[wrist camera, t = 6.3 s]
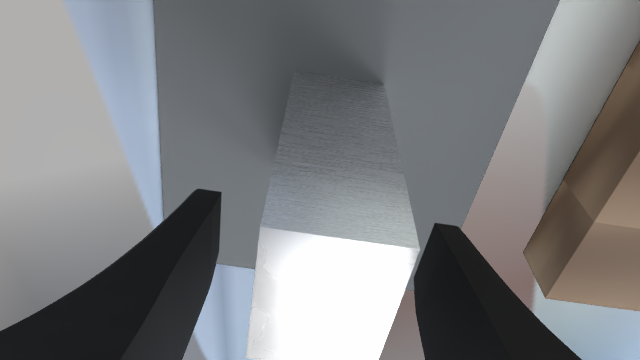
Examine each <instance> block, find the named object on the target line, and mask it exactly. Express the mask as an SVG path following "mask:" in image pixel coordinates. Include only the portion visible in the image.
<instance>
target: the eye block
mask: <svg viewBox="0 0 640 360" xmlns="http://www.w3.org/2000/svg"><path fill="white" fill-rule="evenodd" d="M523 253H524V255H525V258H526V260H527V262H528V264H529V266H530V268H531V270H532V272H533V274H534V276H535V278H536V280H537V282H538V284H539V286H540V289H541V291H542V293H543V295H544V297H545V298H546V299H554V300H561V301H568V302H575V303H583V304H590V305H597V306H605V307H612V308H619V309H627V310H634V311H640V42H639V43H638V45H637V47H636V49H635V51H634V52H633V54H632V56H631V58H630V60H629V62H628V63H627V65H626V67H625V69H624V71H623V72H622V74H621V76H620V78H619V80H618V81H617V83H616V85H615V87H614V89H613V90H612V92H611V94H610V96H609V98H608V100H607V101H606V103H605V105H604V107H603V109H602V110H601V112H600V114H599V116H598V118H597V119H596V121H595V123H594V125H593V127H592V128H591V130H590V132H589V134H588V136H587V137H586V139H585V141H584V143H583V145H582V147H581V148H580V150H579V152H578V154H577V156H576V157H575V159H574V161H573V163H572V165H571V166H570V168H569V170H568V172H567V174H566V175H565V177H564V179H563V181H562V183H561V185H560V186H559V188H558V190H557V192H556V194H555V195H554V197H553V199H552V201H551V203H550V204H549V206H548V208H547V210H546V212H545V213H544V215H543V217H542V219H541V221H540V222H539V224H538V226H537V228H536V230H535V232H534V233H533V235H532V237H531V239H530V241H529V242H528V244H527V246H526V248H525V250H524V251H523Z"/></svg>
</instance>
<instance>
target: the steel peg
mask: <svg viewBox="0 0 640 360" xmlns="http://www.w3.org/2000/svg"><path fill="white" fill-rule="evenodd" d="M419 252H420V246H419V242H418V237H417V232H416V228H415V223H414V218H413V214H412V209H411V205H410V200H409V195H408V191H407V186H406V181H405V177H404V172H403V168H402V163H401V158H400V154H399V149H398V145H397V140H396V135H395V131H394V126H393V121H392V117H391V112H390V108H389V103H388V98H387V94H386V89H385V84H380V83H374V82H368V81H362V80H356V79H350V78H344V77H338V76H331V75H325V74H319V73H313V72H307V71H301V70H295V71H294V76H293V80H292V85H291V89H290V94H289V98H288V103H287V107H286V112H285V116H284V121H283V125H282V130H281V135H280V139H279V144H278V148H277V153H276V157H275V162H274V166H273V171H272V175H271V180H270V184H269V189H268V193H267V198H266V203H265V207H264V212H263V216H262V221H261V225H260V233H259V242H258V251H257V260H256V269H255V278H254V288H253V297H252V306H251V315H250V324H249V333H248V342H247V352H246V358H251V359H259V360H378V359H379V356H380V354H381V351H382V349H383V346H384V343H385V341H386V338H387V335H388V333H389V330H390V328H391V325H392V322H393V320H394V317H395V315H396V312H397V309H398V306H399V304H400V301H401V299H402V296H403V293H404V291H405V288H406V286H407V283H408V280H409V278H410V275H411V273H412V270H413V267H414V265H415V262H416V259H417V257H418V254H419Z"/></svg>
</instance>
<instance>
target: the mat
mask: <svg viewBox="0 0 640 360" xmlns="http://www.w3.org/2000/svg"><path fill="white" fill-rule="evenodd" d="M558 3H559V0H153V4H154V24H155V45H156V66H157V87H158V108H159V129H160V149H161V170H162V191H163V212H164V220H165V219H166V218H167V217H168V216H169V215H170V214H171V213H172V212H173V211H174V210H175V209H177V208H178V207H179V206H180V205H181V204H182V203H183V201H184V200H185V199H186V198H187V197H188V196H189V195H190V194H191V193H192V192H193V191H195V190H196V189H205V190H212V191H219V192H222V197H221V221H220V244H219V254H218V258H217V262H216V264H222V265H229V266H237V267H244V268H251V269H256V260H257V251H258V242H259V233H260V225H261V221H262V216H263V212H264V207H265V203H266V198H267V193H268V189H269V184H270V180H271V175H272V171H273V166H274V162H275V157H276V153H277V148H278V144H279V139H280V135H281V130H282V125H283V121H284V116H285V112H286V107H287V103H288V98H289V94H290V89H291V85H292V80H293V76H294V71H295V70H301V71H307V72H313V73H319V74H325V75H331V76H338V77H344V78H350V79H356V80H362V81H368V82H374V83H380V84H385V89H386V94H387V98H388V103H389V108H390V112H391V117H392V121H393V126H394V131H395V135H396V140H397V145H398V149H399V154H400V158H401V163H402V168H403V172H404V177H405V181H406V186H407V191H408V195H409V200H410V205H411V209H412V214H413V218H414V223H415V228H416V232H417V237H418V242H419V246H420V252H419V254H418V257H417V259H416V262H415V265H414V267H413V270H412V273H411V275H410V278H409V280H408V283H407V286H406V288H405V289H407V290H414V275H415V273H416V270H417V268H418V265H419V262H420V260H421V257H422V255H423V252H424V249H425V247H426V244H427V242H428V239H429V236H430V234H431V231H432V229H433V226H434V223H440V224H447V225H454V226H458V227H459V228H460V229H461V228H462V225H463V223H464V220H465V218H466V216H467V214H468V211H469V209H470V207H471V204H472V202H473V199H474V197H475V195H476V193H477V190H478V188H479V186H480V183H481V181H482V179H483V177H484V174H485V172H486V170H487V167H488V165H489V163H490V160H491V158H492V156H493V153H494V151H495V149H496V146H497V144H498V142H499V139H500V137H501V135H502V132H503V130H504V128H505V126H506V123H507V121H508V118H509V116H510V114H511V112H512V109H513V107H514V104H515V102H516V100H517V98H518V95H519V93H520V91H521V88H522V86H523V84H524V82H525V79H526V77H527V75H528V72H529V70H530V68H531V65H532V63H533V61H534V58H535V56H536V54H537V51H538V49H539V47H540V44H541V42H542V40H543V37H544V35H545V33H546V31H547V28H548V26H549V24H550V21H551V19H552V17H553V14H554V12H555V10H556V7H557V5H558Z"/></svg>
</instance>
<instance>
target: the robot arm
mask: <svg viewBox="0 0 640 360" xmlns="http://www.w3.org/2000/svg"><path fill="white" fill-rule="evenodd" d="M221 197H222V192H219V191H212V190H205V189H196V190H195V191H193V192H192V193H191V194H190V195H189V196H188V197H187V198H186V199H185V200H184V201H183V203H182V204H181V205H180V206H179V207H178V208H177V209H175V210H174V211H173V212H172V213H171V214H170V215H169V216H168V217H167V218H166V219H165V220H164V221H163V222H162V223H161V224H160V225H158V226H157V227H156V228H155V229H154V230H153V231H152V232H151V233H150V234H148V235H147V236H146V237H145V238H144V239H143V240H142V241H140V242H139V243H138V244H137V245H135V246H134V247H133V248H132V249H131V250H129V251H128V252H127V253H125V254H124V255H123V256H122V257H120V258H119V259H118V260H117V261H115V262H114V263H113V264H111V265H110V266H109V267H107V268H106V269H105V270H103V271H102V272H100V273H99V274H98V275H96V276H95V277H93V278H92V279H91V280H89V281H87V282H86V283H84V284H83V285H81V286H80V287H78V288H77V289H75V290H74V291H72V292H70V293H69V294H67V295H65V296H64V297H62V298H61V299H59V300H57V301H56V302H54V303H52V304H50V305H49V306H47V307H45V308H43V309H42V310H40V311H38V312H37V313H35V314H33V315H31V316H29V317H27V318H25V319H23V320H22V321H20V322H18V323H16V324H14V325H12V326H10V327H8V328H6V329H4V330H2V331H0V360H182V358H183V356H184V353H185V351H186V348H187V345H188V343H189V340H190V338H191V335H192V333H193V330H194V328H195V325H196V322H197V320H198V317H199V315H200V312H201V309H202V307H203V304H204V302H205V299H206V296H207V294H208V291H209V288H210V285H211V282H212V278H213V274H214V270H215V266H216V262H217V258H218V254H219V244H220V221H221ZM414 294H415V307H416V315H417V321H418V326H419V331H420V336H421V341H422V346H423V350H424V355H425V360H582V359H581V358H579V357H578V356H577V355H576V354H575V353H574V352H573V351H571V350H570V349H569V348H568V347H567V346H566V345H565V344H564V343H563V342H562V341H561V340H560V339H558V338H557V337H556V336H555V335H554V334H553V333H552V332H551V331H550V330H549V329H548V328H547V327H546V326H545V325H544V324H543V323H542V322H541V321H540V320H539V319H538V318H537V317H536V316H535V315H534V314H533V313H532V312H531V311H530V310H529V309H528V308H527V307H526V306H525V305H524V304H523V303H522V301H521V300H520V299H519V298H518V297H517V296H516V295H515V294H514V293H513V292H512V291H511V289H510V288H509V287H508V286H507V285H506V284H505V282H503V280H502V279H501V278H500V277H499V276H498V274H497V273H496V272H495V271H494V270H493V268H492V267H491V266H490V265H489V263H488V262H487V261H486V260H485V259H484V257H483V256H482V255H481V254H480V252H479V251H478V250H477V249H476V248H475V246H474V245H473V244H472V243H471V241H470V240H469V239H468V238H467V237H466V235H465V234H464V233H463V232H462V231H461V229H460V228H459V227H458V226H454V225H447V224H440V223H434V226H433V229H432V231H431V234H430V236H429V239H428V242H427V244H426V247H425V249H424V252H423V255H422V257H421V260H420V262H419V265H418V268H417V270H416V273H415V275H414Z"/></svg>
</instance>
